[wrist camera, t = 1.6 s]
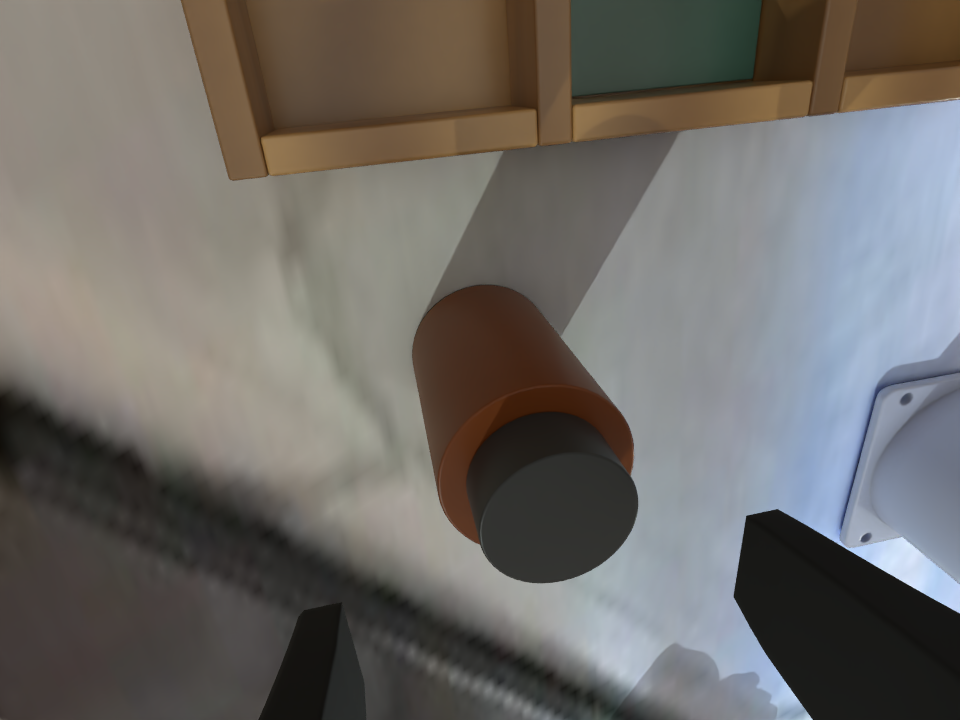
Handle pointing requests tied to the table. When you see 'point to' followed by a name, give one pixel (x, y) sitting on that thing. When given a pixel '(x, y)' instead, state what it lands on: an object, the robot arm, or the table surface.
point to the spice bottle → (522, 438)
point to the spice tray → (545, 71)
